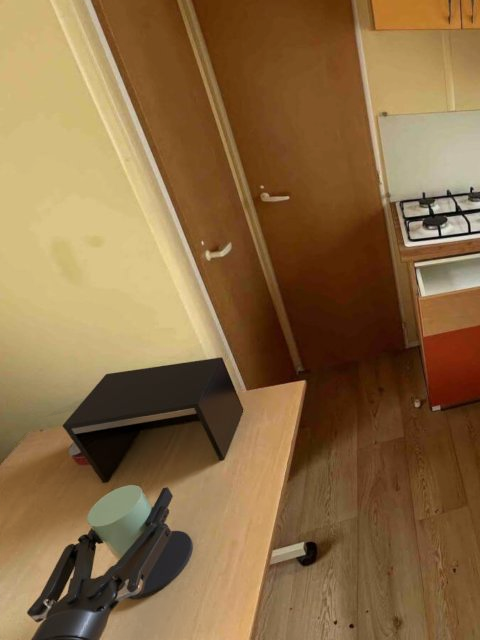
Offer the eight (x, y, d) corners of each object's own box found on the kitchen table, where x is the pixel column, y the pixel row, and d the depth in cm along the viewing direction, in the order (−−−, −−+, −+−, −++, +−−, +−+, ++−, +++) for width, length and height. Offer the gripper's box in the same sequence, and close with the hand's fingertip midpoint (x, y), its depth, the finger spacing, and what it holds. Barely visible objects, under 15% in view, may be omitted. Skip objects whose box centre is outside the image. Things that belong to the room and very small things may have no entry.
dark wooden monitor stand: (224, 459, 98) (197, 403, 89) (102, 483, 92) (62, 425, 84) (244, 410, 111) (222, 357, 102) (138, 428, 105) (106, 373, 97)
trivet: (102, 598, 74) (99, 596, 73) (150, 533, 83) (148, 530, 83) (164, 599, 73) (162, 596, 73) (206, 533, 83) (204, 530, 83)
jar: (113, 550, 75) (81, 509, 69) (160, 518, 80) (133, 477, 74) (126, 576, 71) (93, 535, 66) (174, 540, 76) (148, 500, 71)
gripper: (-18, 692, 57) (88, 522, 76) (152, 645, 61) (211, 496, 81) (-53, 668, 53) (68, 497, 73) (131, 620, 57) (198, 471, 77)
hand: (143, 497), depth 77 cm, fingers closed on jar, 7 cm apart
